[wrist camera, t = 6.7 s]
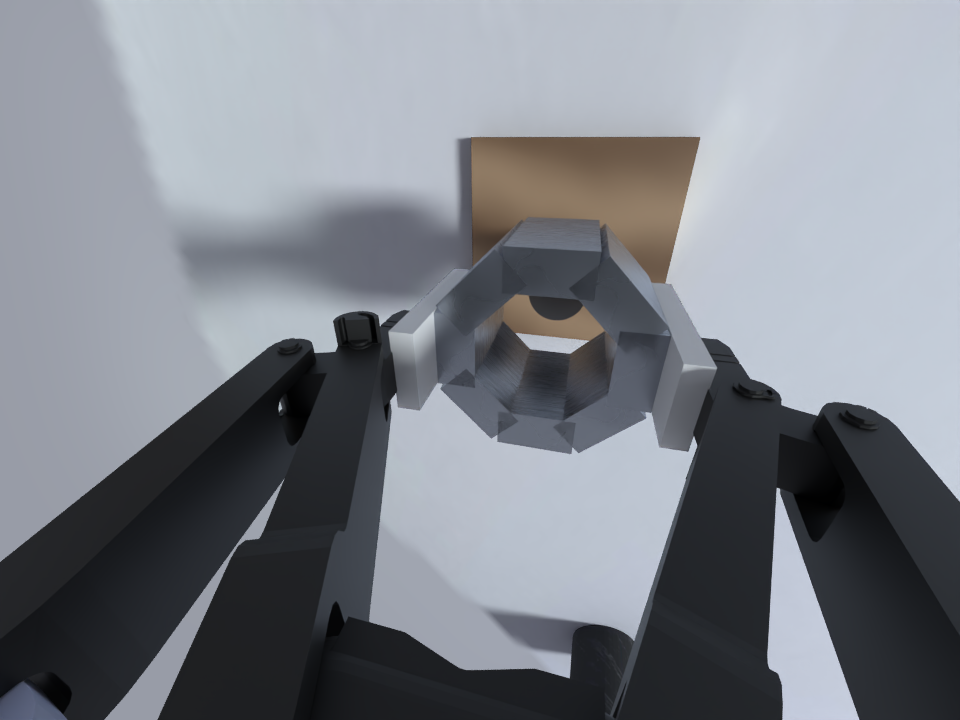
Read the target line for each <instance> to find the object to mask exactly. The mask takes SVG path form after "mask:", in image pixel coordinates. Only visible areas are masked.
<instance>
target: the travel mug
mask: <svg viewBox="0 0 960 720" xmlns="http://www.w3.org/2000/svg"><path fill="white" fill-rule="evenodd" d="M633 644H634V641H633V640H632V639H631V638H630V637H629V636H628V635H626V634H625V633H623V632H621V631H619V630H616V629H613V628H610V627H605V626H597V625H591V626H585V627H582V628H579V629H578V630H577V631H576V632H575V633H574V636H573V643H572V656H571V670H570V679H573V680H577V681H580V682H584V683H587V684H591V685H594V686H598V687H601V688H604V692H605V712H606V713H607V714H609V715H610V714H611V711H612V708H613V705H614V702H615V699H616V696H617V693H618V690H619V687H620V684H621V681H622V678H623V675H624V672H625V669H626V666H627V662H628V659H629V656H630V653H631V650H632V647H633Z"/></svg>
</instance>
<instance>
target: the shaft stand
mask: <svg viewBox="0 0 960 720" xmlns="http://www.w3.org/2000/svg"><path fill="white" fill-rule="evenodd" d="M699 141H700V137H471V162H472V248H473V266H474V265H475V264H476V263H477V262H478V261H479V260H480V259H481V258H482V257H483V256H484V255H485V254H486V253H487V252H488V251H489V250H490V249H491V248H493V247H494V246H495V245H496V244H497V243H498V242H499V241H500V240H501V239H502V238H503V237H504V236H505V235H506V234H507V233H508V232H509V231H510V230H511V229H512V228H513V227H514V226H515V225H516V224H517V223H519V222H520V221H521V220H523V221H525V220H526V219H527V218H528V217H542V218H566V219H590V220H599V222H600V227H601V226H603V225H604V224H605V223H606V224H607V225H608V227H609V228H610V229H611V230H612V231H613V233H614V234H615V235H616V236H617V238H618V239H619V240H620V241H621V243H622V244H623V245H624V246H625V248H626V249H627V250H628V251H629V252H630V254H631V255H632V256H633V257H634V259H635V260H636V261H637V262H638V264H639V265H640V266H641V267H642V268H643V270H644V271H645V272H646V273H647V275H648V276H649V278H650V281H651V283H663V284H665V282H666V277H667V273H668V269H669V265H670V261H671V257H672V253H673V249H674V244H675V240H676V236H677V232H678V228H679V224H680V220H681V215H682V211H683V207H684V203H685V199H686V195H687V191H688V186H689V182H690V178H691V174H692V170H693V166H694V162H695V157H696V153H697V149H698V145H699ZM503 321H504V322H505V323H506V324H507V325H508V326H509V327H510V329H511V330H512V331H513V332H514V333H522V334H532V335H541V336H551V337H560V338H570V339H579V340H589V341H590V340H592V339H593V338H595V337H596V336H598V335H599V334H601V333H602V332H604V329H603V327H602V326H601V325H600V324H599V323H598V322H597V320H596V319H595V318H594V317H593V316H592V315H591V314H590V312H589V311H588V310H587V309H586V308H585V307H584V306H583V304H582V303H581V302H580V301H579V300H576V299H564V298H553V297H541V296H529V295H517V294H516V295H515V296H514V297H512V298H511V299H510V300H509V301H508V302H506V303H505V304H504V317H503Z"/></svg>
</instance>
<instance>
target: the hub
mask: <svg viewBox="0 0 960 720" xmlns="http://www.w3.org/2000/svg"><path fill="white" fill-rule="evenodd" d="M516 294H517V295H529V296H541V297H553V298H564V299H576V300H579V301H580V302H581V303H582V304H583V306H584V307H585V308H586V309H587V310H588V311H589V312H590V314H591V315H592V316H593V317H594V318H595V319H596V320H597V322H598V323H599V324H600V325H601V326H602V327H603V329H604V332H602V333H601V334H599V335H598V336H596V337H595V338H593V339H592V340H590V341H589V342H587V343H586V344H584V345H583V346H581V347H580V348H578V349H577V350H575V351H574V352H572V353H571V354H566V353H557V352H548V351H540V350H531V349H529V348H528V347H527V346H526V345H525V343H524V342H523V341H522V340H521V339H520V338H519V337H518V336H517V335H516V334H515V333H514V332H513V331H512V330H511V329H510V327H509V326H508V325H507V324H506V323H505V322H504V321H503V317H504V304H505V303H506V302H508V301H509V300H510V299H511V298H512V297H514V296H515V295H516ZM436 307H437V309H436V310H435V312H434V327H435V343H436V360H437V376H438V382H437V383H442V384H443V385H442V387H441V388H440V389H441V390H442V391H443V392H444V393H445V394H446V395H447V396H448V397H449V398H450V399H451V400H452V401H453V402H454V403H455V404H456V405H457V406H458V407H459V408H460V409H461V410H463V411H464V412H465V413H466V414H467V415H468V416H469V417H470V418H471V419H472V420H473V421H474V422H475V423H476V424H477V425H478V426H479V427H480V428H481V429H482V430H483V431H484V432H485V433H486V434H487V435H488V436H489V437H490V438H493V437H494V436H496V435H498V441H497V442H503V443H509V444H515V445H520V446H526V447H532V448H538V449H544V450H550V451H556V452H562V453H568V454H571V452H572V447H573V448H574V449H575V450H576V451H577V452H578V453H579V452H581V451H583V450H585V449H587V448H589V447H591V446H593V445H595V444H597V443H599V442H601V441H603V440H605V439H607V438H609V437H611V436H613V435H615V434H617V433H619V432H621V431H622V430H624V429H626V428H628V427H630V426H632V425H634V424H636V423H638V422H640V421H642V420H644V419H646V414H645V412H650V413H651V412H652V408H653V404H654V400H655V397H656V393H657V389H658V385H659V381H660V378H661V374H662V370H663V366H664V362H665V359H666V355H667V351H668V347H669V343H670V340H671V334H670V331H669V325H668V323H667V320H666V318H665V315H664V313H663V310H662V308H661V305H660V303H659V300H658V298H657V295H656V293H655V291H654V288H653V286H652V283H651V281H650V278H649V276H648V275H647V273H646V272H645V271H644V270H643V268H642V267H641V266H640V265H639V264H638V262H637V261H636V260H635V259H634V257H633V256H632V255H631V254H630V252H629V251H628V250H627V249H626V248H625V246H624V245H623V244H622V243H621V241H620V240H619V239H618V238H617V236H616V235H615V234H614V233H613V231H612V230H611V229H610V228H609V227H608V225H607V224H606V223H605V224H604V225H603V226H601V227H600V222H599V220H590V219H566V218H542V217H528V218H527V219H526V220H525V221H523V220H521V221H520V222H519V223H517V224H516V225H515V226H514V227H513V228H512V229H511V230H510V231H509V232H508V233H507V234H506V235H505V236H504V237H503V238H502V239H501V240H500V241H499V242H498V243H497V244H496V245H495V246H494V247H493V248H491V249H490V250H489V251H488V252H487V253H486V254H485V255H484V256H483V257H482V258H481V259H480V260H479V261H478V262H477V263H476V264H475V265H474V266H473V267H472V268H471V269H470V270H469V271H468V272H467V273H466V274H465V275H464V276H463V277H462V278H461V280H460V281H459V282H458V283H457V284H456V285H455V286H454V287H453V288H452V289H451V290H450V291H449V292H448V293H447V294H446V295H445V296H444V297H443V298H442V299H441V300H440V301H439V302H438V303H437V305H436Z"/></svg>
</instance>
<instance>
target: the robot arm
mask: <svg viewBox="0 0 960 720" xmlns="http://www.w3.org/2000/svg"><path fill="white" fill-rule="evenodd" d="M468 271H469V270H468V269H453V270H452V271H451V272H450V273H449V274H448V275H447V276H446V277H445V278H444V279H443V280H442V281H441V282H440V283H439V284H438V285H437V286H436V287H435V288H434V289H432V290H431V291H430V292H429V293H428V294H427V295H426V296H425V297H424V298H423V299H422V300H421V301H420V302H419V303H418V304H417V305H416V306H415V307H414V308H413V309H411V310H410V311H407V310H403V311H400V312H398V313H396V314H393V315H392V316H391V317H390V318H389V319H387V320H386V322H384V323H383V324H382V325H381V327H380V324H379V318H378V315H376V314H375V313H372V312H366V311H358V312H350V313H346V314H343V315H340V316H338V317H336V318H335V319H334V321H333V323H334V328H335V333H336V338H337V343H338V347H337V350H336V352H329V353H314V349H313V345H312V342H310V341H309V340H305V339H294V338H291V339H289V340H288V339H286V340H282V341H281V342H278V343H275V344H274V345H272V346H270V347H269V348H267V349H266V350H265V351H264V352H262V353H261V354H260V355H259V356H257V357H256V358H255V359H254V360H252V361H251V362H250V363H249V364H247V365H246V366H245V367H244V368H242V369H241V370H240V371H239V372H237V373H236V374H235V375H234V376H232V377H231V378H230V379H229V380H227V381H226V382H225V383H224V384H222V385H221V386H220V387H219V388H217V389H216V390H215V391H214V392H212V393H211V394H210V395H209V396H207V397H206V398H205V399H204V400H202V401H201V402H200V403H199V404H197V405H196V406H195V407H194V408H192V409H191V410H190V411H189V412H187V413H186V414H185V415H184V416H182V417H181V418H180V419H179V420H177V421H176V422H175V423H174V424H172V425H171V426H170V427H169V428H167V429H166V430H165V431H164V432H162V433H161V434H160V435H159V436H158V437H156V438H155V439H154V440H153V441H151V442H150V443H149V444H147V445H146V446H145V447H144V448H142V449H141V450H140V451H139V452H137V453H136V454H135V455H134V456H132V457H131V458H130V459H129V460H127V461H126V462H125V463H124V464H122V465H121V466H120V467H119V468H117V469H116V470H115V471H114V472H112V473H111V474H110V475H109V476H107V477H106V478H105V479H104V480H102V481H101V482H100V483H99V484H97V485H96V486H95V487H94V488H92V489H91V490H90V491H89V492H87V493H86V494H85V495H84V496H82V497H81V498H80V499H79V500H77V501H76V502H75V503H74V504H72V505H71V506H70V507H68V508H67V509H66V510H65V511H63V513H61V514H60V515H59V516H57V517H56V518H55V519H54V520H52V521H51V522H50V523H48V524H47V525H46V526H45V527H43V528H42V529H41V530H40V531H38V532H37V533H36V534H35V535H33V536H32V537H31V538H30V539H29V540H27V541H26V542H25V543H23V544H22V545H21V546H20V547H18V548H17V549H16V550H15V551H13V552H12V553H11V554H10V555H9V556H7V557H6V558H5V559H3V560H2V561H1V562H0V720H104V719H105V718H106V717H107V716H108V715H109V714H110V712H111V711H112V710H113V709H114V708H115V707H116V706H117V704H118V703H119V702H120V701H121V700H122V699H123V698H124V696H125V695H126V694H127V693H128V692H129V690H130V689H131V688H132V686H133V685H134V684H135V683H136V681H137V680H138V679H139V677H140V676H141V675H142V673H143V672H144V671H145V670H146V668H147V667H148V666H149V664H150V663H151V662H152V661H153V659H154V658H155V656H156V655H157V654H158V652H159V651H160V650H161V648H162V647H163V645H164V644H165V643H166V641H167V640H168V638H169V637H170V636H171V634H172V633H173V631H174V630H175V629H176V627H177V626H178V625H179V623H180V622H181V621H182V619H183V618H184V616H185V615H186V613H187V612H188V611H189V609H190V608H191V607H192V605H193V604H194V602H195V601H196V600H197V598H198V597H199V596H200V594H201V593H202V592H203V590H204V589H205V587H206V586H207V585H208V583H209V582H210V580H211V579H212V577H213V576H214V575H215V574H216V572H217V571H218V569H219V568H220V566H221V565H222V564H223V562H224V561H225V560H226V558H227V557H228V556H229V554H230V553H231V551H232V550H233V549H234V547H235V546H236V544H237V543H238V542H239V540H240V539H241V537H242V536H243V535H244V533H245V532H246V531H247V529H248V528H249V527H250V525H251V524H252V522H253V521H254V520H255V518H256V517H257V515H258V514H259V513H260V511H261V510H262V508H263V507H264V506H265V504H266V503H267V502H268V500H269V499H270V497H271V496H272V495H273V493H274V492H275V491H276V489H277V488H278V486H279V485H280V484H281V482H282V481H283V480H284V482H283V484H282V486H281V489H280V491H279V494H278V496H277V499H276V501H275V504H274V506H273V509H272V511H271V514H270V516H269V519H268V521H267V524H266V526H265V529H264V531H263V533H262V535H261V537H260V538H259V539H255V540H246V541H244V542H243V543H242V544H241V545H239V546H238V547H237V549H236V551H235V552H234V554H233V556H232V557H231V559H230V561H229V563H228V566H227V568H226V570H225V572H224V574H223V577H222V579H221V581H220V583H219V586H218V588H217V590H216V592H215V594H214V597H213V599H212V601H211V603H210V606H209V608H208V610H207V612H206V614H205V616H204V619H203V621H202V623H201V625H200V627H199V630H198V632H197V634H196V636H195V638H194V641H193V643H192V645H191V647H190V649H189V652H188V654H187V656H186V659H185V661H184V663H183V665H182V667H181V669H180V671H179V674H178V676H177V678H176V680H175V682H174V685H173V687H172V689H171V691H170V693H169V696H168V698H167V700H166V702H165V704H164V707H163V709H162V711H161V713H160V716H159V718H158V720H782V710H783V701H782V685H781V681H780V678H779V675H778V674H777V673H776V672H774V671H772V670H770V669H769V667H768V663H767V650H768V632H769V614H770V596H771V578H772V560H773V542H774V524H775V507H776V489H777V488H780V494H781V497H782V500H783V503H784V506H785V508H786V511H787V514H788V517H789V520H790V523H791V526H792V528H793V531H794V534H795V537H796V540H797V543H798V546H799V548H800V551H801V554H802V557H803V560H804V563H805V566H806V568H807V571H808V574H809V577H810V580H811V583H812V586H813V588H814V591H815V594H816V597H817V600H818V603H819V605H820V608H821V611H822V614H823V617H824V620H825V623H826V625H827V628H828V631H829V634H830V637H831V640H832V643H833V645H834V648H835V651H836V654H837V657H838V660H839V663H840V665H841V668H842V671H843V674H844V677H845V680H846V683H847V685H848V688H849V691H850V694H851V697H852V700H853V703H854V705H855V708H856V711H857V714H858V717H859V720H960V502H959V501H958V499H957V498H956V497H955V496H954V495H953V493H952V492H951V491H950V490H949V489H948V487H947V486H946V485H945V484H944V483H943V481H942V480H941V479H940V478H939V477H938V475H937V474H936V473H935V472H934V471H933V469H932V468H931V467H930V466H929V465H928V463H927V462H926V461H925V460H924V459H923V457H922V456H921V455H920V454H919V453H918V451H917V450H916V449H915V448H914V447H913V446H912V444H911V443H910V442H909V441H908V440H907V438H906V437H905V436H904V435H903V434H902V432H901V431H900V430H899V429H898V428H897V426H896V425H894V424H893V423H892V422H891V421H890V420H889V419H887V418H885V417H883V416H882V415H880V414H878V413H877V412H876V411H874V410H871V409H869V408H868V409H866V407H863V406H860V405H852V404H848V403H839V402H833V403H827V404H826V405H824V406H823V407H822V409H821V411H820V413H819V415H818V416H816V415H812V414H809V413H805V412H801V411H798V410H794V409H791V408H788V407H785V406H782V405H781V397H780V395H779V393H777V392H776V391H775V390H774V389H773V388H771V387H769V386H767V385H766V384H764V383H761V382H758V381H755V380H752V379H750V378H749V376H748V375H747V373H746V372H745V370H744V369H743V367H742V366H741V364H739V361H738V360H737V358H736V357H735V355H734V354H733V352H732V351H731V349H730V348H729V347H728V346H726V345H725V344H723V343H722V342H720V341H719V340H717V339H706V338H701V337H700V336H699V334H698V332H697V330H696V328H695V327H694V325H693V323H692V321H691V319H690V317H689V316H688V314H687V312H686V310H685V308H684V306H683V305H682V303H681V301H680V299H679V297H678V296H677V294H676V292H675V290H674V288H673V286H672V285H671V284H663V283H652V286H653V288H654V291H655V293H656V295H657V298H658V300H659V303H660V305H661V308H662V310H663V313H664V315H665V318H666V320H667V323H668V325H669V331H670V334H671V340H670V343H669V347H668V351H667V355H666V359H665V362H664V366H663V370H662V374H661V378H660V381H659V385H658V389H657V393H656V397H655V400H654V404H653V408H652V416H653V420H654V425H655V429H656V434H657V439H658V443H659V447H661V448H668V449H674V450H681V451H687V452H688V451H689V448H690V445H691V442H692V439H693V436H694V437H695V440H696V443H697V449H696V452H695V455H694V457H693V460H692V463H691V466H690V469H689V471H688V474H687V477H686V482H685V485H684V488H683V491H682V495H681V498H680V501H679V504H678V507H677V510H676V513H675V516H674V519H673V522H672V526H671V529H670V532H669V535H668V538H667V541H666V544H665V547H664V550H663V554H662V557H661V560H660V563H659V566H658V569H657V572H656V575H655V578H654V582H653V585H652V588H651V591H650V594H649V597H648V600H647V603H646V606H645V610H644V613H643V616H642V619H641V622H640V625H639V628H638V631H637V634H636V638H635V641H634V644H633V647H632V650H631V653H630V656H629V659H628V662H627V666H626V669H625V672H624V675H623V678H622V681H621V684H620V687H619V690H618V693H617V696H616V699H615V702H614V705H613V708H612V711H611V714H610V715H609V714H607V713H606V712H605V692H604V688H601V687H598V686H594V685H591V684H587V683H584V682H580V681H577V680H573V679H569V678H566V677H562V676H559V675H555V674H552V673H548V672H544V671H541V670H537V669H508V670H507V669H506V670H463V669H460V668H458V667H456V666H455V665H453V664H452V663H450V662H449V661H447V660H446V659H444V658H443V657H441V656H440V655H438V654H437V653H435V652H434V651H432V650H430V649H429V648H428V647H426V646H425V645H423V644H422V643H420V642H419V641H417V640H416V639H414V638H413V637H411V636H410V635H408V634H407V633H405V632H402V631H398V630H395V629H391V628H388V627H384V626H381V625H377V624H373V623H370V622H369V614H370V604H371V595H372V585H373V577H374V568H375V557H376V549H377V540H378V530H379V522H380V513H381V504H382V495H383V485H384V476H385V467H386V458H387V449H388V440H389V431H390V421H391V404H390V400H391V399H392V397H393V396H394V395H395V393H396V395H397V403H398V407H400V408H407V409H413V410H420V409H421V408H422V406H423V405H424V403H425V401H426V400H427V398H428V397H429V395H430V394H431V392H432V390H433V389H434V387H435V386H436V384H437V382H438V376H437V360H436V343H435V327H434V312H435V310H436V309H437V307H436V305H437V303H438V302H439V301H440V300H441V299H442V298H443V297H444V296H445V295H446V294H447V293H448V292H449V291H450V290H451V289H452V288H453V287H454V286H455V285H456V284H457V283H458V282H459V281H460V280H461V278H462V277H463V276H464V275H465V274H466V273H467V272H468ZM279 402H280V403H281V406H282V410H281V411H280V412H279V410H278V407H279ZM284 478H285V479H284Z"/></svg>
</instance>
